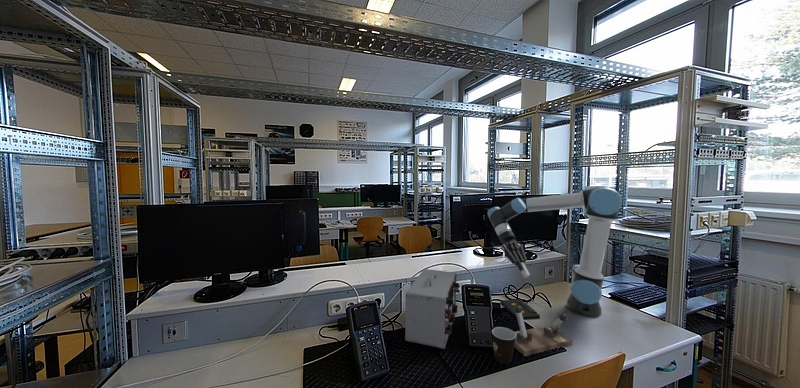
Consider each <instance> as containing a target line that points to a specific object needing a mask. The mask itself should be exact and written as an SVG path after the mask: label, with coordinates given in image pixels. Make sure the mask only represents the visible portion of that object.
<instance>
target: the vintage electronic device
mask: <svg viewBox="0 0 800 388" xmlns="http://www.w3.org/2000/svg"><path fill="white" fill-rule="evenodd" d="M460 287H461V286H460V283H459V282H457V272H453V271H446V270H437V269H427V268H423V269H422V271H421V272H420V273H419V275H418V276H417V278H416V279H415V280H414V282H413V283H412V284H411V285H410V287H409V288H408V290H407V291H406V292H405V305H404V306H405V307H404V308H405V312H404V313H405V317H404V318H405V319H404V321H405V322H404V323H405V332H404V333H405V334H404V340H405V341H406V342H408V343H410V344H419V345H420V344H421V345H424V346H429V347H435V348H437V349H438V350H442V349H443V350H444V349H446V346H447V343H448V340H449V336H450V335H451V334H452V332H453V331H452V330H453V327H452V326H453V324H454V323H455V321H456V314H457V313H458V305H457V293H459V294H460V292H461V291H460V289H459V288H460ZM457 288H458V289H457Z"/></svg>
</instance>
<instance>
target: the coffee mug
mask: <svg viewBox="0 0 800 388" xmlns="http://www.w3.org/2000/svg"><path fill="white" fill-rule="evenodd" d="M490 329H491V336H492V346H493V348H492V349H493V358H494V360H495V361H497V362H499V363H500V364H505V365H509V364H511V363H512V361H513V357H514V356H513V355H514V349H515V348H514V345H515V339H516V334H515V333H514V332H515V331H514V330H512V329H510V328H508V327H502V326H495V327H494V326H492V327H491V328H490Z"/></svg>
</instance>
